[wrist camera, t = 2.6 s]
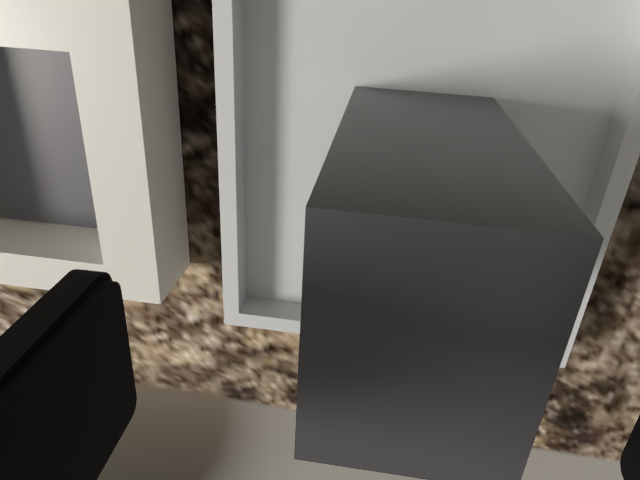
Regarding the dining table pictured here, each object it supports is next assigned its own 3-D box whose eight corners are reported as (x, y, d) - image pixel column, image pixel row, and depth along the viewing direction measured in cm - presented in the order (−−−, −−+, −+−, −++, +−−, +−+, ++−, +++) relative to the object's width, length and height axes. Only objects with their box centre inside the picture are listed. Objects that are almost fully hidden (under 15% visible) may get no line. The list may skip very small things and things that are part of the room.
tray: (670, -26, 15) (703, -26, 13) (552, 338, 21) (564, 368, 19) (228, -51, 16) (210, -54, 14) (236, 298, 22) (224, 324, 20)
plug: (493, 97, 16) (603, 238, 8) (461, 252, 19) (516, 493, 10) (355, 86, 17) (305, 206, 8) (342, 239, 19) (294, 458, 10)
